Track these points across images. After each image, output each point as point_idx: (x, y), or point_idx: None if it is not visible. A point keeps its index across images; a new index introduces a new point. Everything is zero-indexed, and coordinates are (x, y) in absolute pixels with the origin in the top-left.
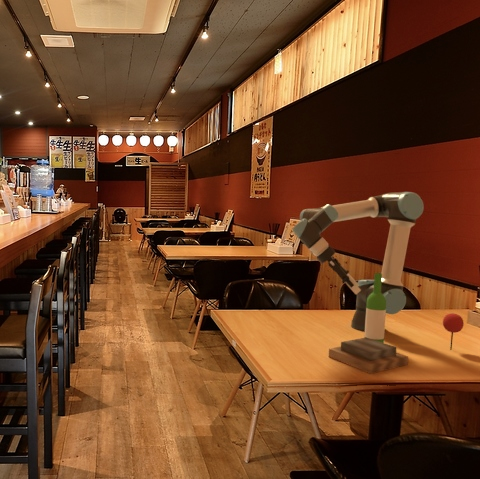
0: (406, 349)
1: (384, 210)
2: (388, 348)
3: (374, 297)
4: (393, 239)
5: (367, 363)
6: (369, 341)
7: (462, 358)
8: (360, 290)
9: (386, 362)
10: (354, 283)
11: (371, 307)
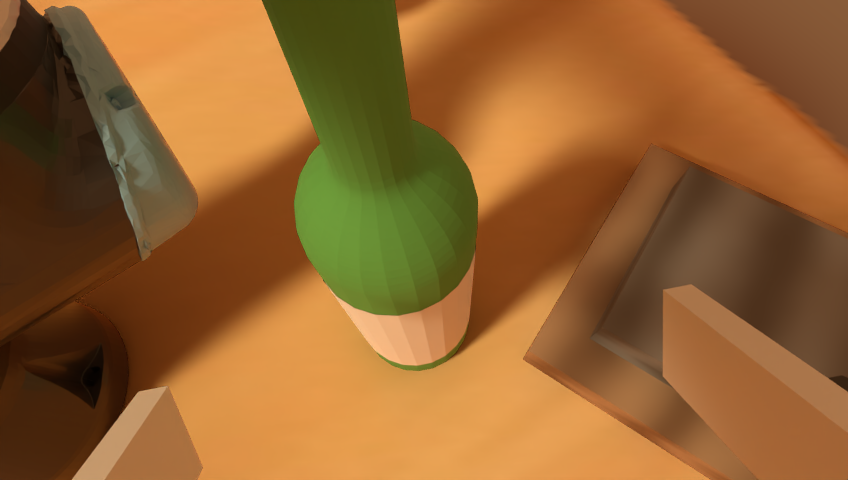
0: None
1: None
2: (746, 196)
3: (459, 193)
4: None
5: None
6: None
7: (424, 14)
8: (691, 294)
9: (806, 217)
10: (813, 372)
11: (469, 258)
